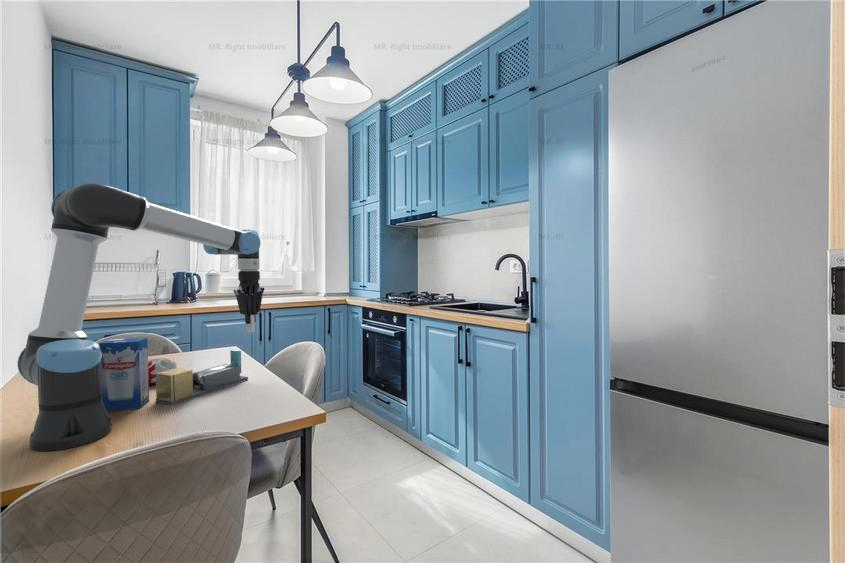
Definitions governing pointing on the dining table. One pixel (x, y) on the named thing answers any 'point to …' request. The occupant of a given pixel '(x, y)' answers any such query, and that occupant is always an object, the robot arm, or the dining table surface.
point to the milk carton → (124, 373)
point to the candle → (158, 367)
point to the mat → (200, 392)
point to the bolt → (234, 362)
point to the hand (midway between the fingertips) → (250, 331)
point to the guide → (191, 381)
